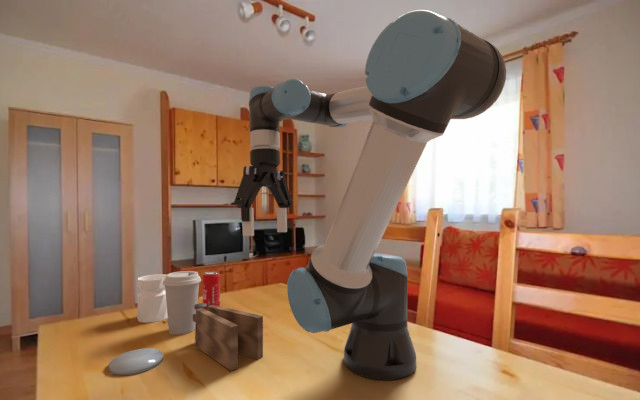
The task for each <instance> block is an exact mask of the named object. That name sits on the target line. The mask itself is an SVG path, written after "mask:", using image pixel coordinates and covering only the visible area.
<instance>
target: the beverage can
mask: <svg viewBox="0 0 640 400" xmlns="http://www.w3.org/2000/svg"><path fill="white" fill-rule="evenodd" d="M202 303H206V304H207V308H206V309H205V310H208V306H211V305H216V306H221V273H220V271H216V270H214V271H213V270H212V271H206V272H203V275H202Z"/></svg>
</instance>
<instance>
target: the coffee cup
mask: <svg viewBox="0 0 640 400" xmlns="http://www.w3.org/2000/svg"><path fill="white" fill-rule="evenodd" d="M201 281H202V278H201V276H200V275H199V272H198V271H193V270H185V271H184V270H182V271H174V272H170V273H167V274H166V278H165V279H164V281H163V285H165V293H166V303H167V314H168V318H167V323H168V333H169V334H171V335H176V336H178V335H179V336H180V335H186V334H190V333H192V332H195V324H196V323H195V322H194V321H193V314H196V310H195V309H194V305H196V304H198V303H199V302H198V301H199V300H198V299H199V290H200V289H199V288H200V283H201Z"/></svg>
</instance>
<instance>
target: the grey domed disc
mask: <svg viewBox="0 0 640 400" xmlns="http://www.w3.org/2000/svg"><path fill="white" fill-rule="evenodd" d="M163 354H164V353H163V351H161V350H160V349H157V348H152V347H151V348H146V347H145V348H140V349H139V348H138V349H133V350H130V351H126V352H123V353H121V354H118V355H117V356H115V357H114V358H112V359H111V360H110V361H109V363H108V371H109V372H110V374H113V375H116V376H131V375H138V374H142V373H145V372H148V371H150V370H153V369H154V368H156V367H158V366H159V365H160V364H161V363H162V362H163V359H164V355H163Z"/></svg>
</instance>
